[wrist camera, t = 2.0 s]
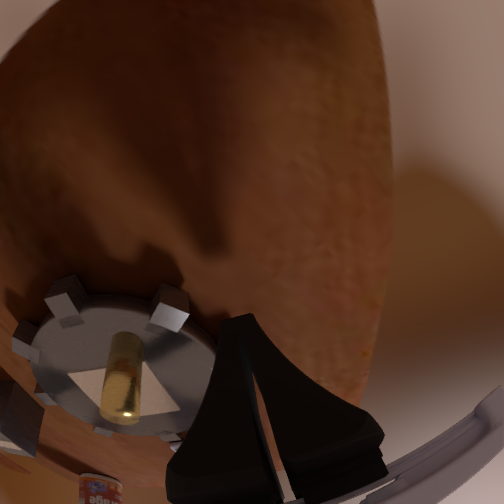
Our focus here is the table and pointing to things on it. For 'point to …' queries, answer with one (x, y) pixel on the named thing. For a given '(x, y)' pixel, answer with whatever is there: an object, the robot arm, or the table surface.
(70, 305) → the sprocket
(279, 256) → the table surface
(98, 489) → the pill bottle
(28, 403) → the grooved silver cube
